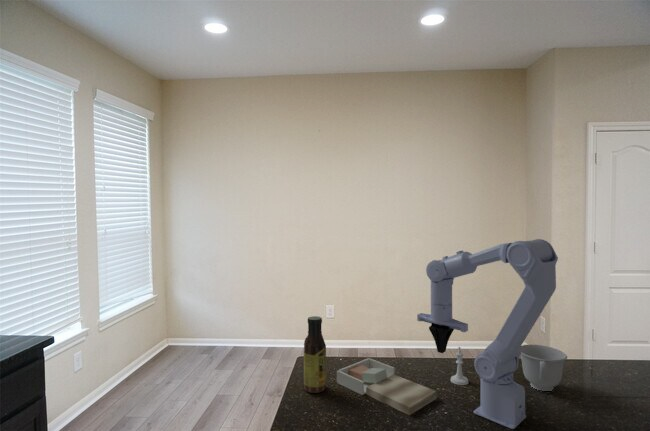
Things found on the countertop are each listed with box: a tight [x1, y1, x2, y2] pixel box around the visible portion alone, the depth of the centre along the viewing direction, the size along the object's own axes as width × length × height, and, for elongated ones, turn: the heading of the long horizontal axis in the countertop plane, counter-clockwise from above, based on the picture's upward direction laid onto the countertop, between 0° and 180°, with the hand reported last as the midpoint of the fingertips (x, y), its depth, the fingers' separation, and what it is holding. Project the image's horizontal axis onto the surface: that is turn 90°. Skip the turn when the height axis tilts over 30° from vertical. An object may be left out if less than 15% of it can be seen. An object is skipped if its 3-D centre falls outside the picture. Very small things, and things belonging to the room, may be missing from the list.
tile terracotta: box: [349, 365, 370, 381], centre depth 110 cm, size 5×5×2 cm
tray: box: [336, 357, 395, 396], centre depth 109 cm, size 10×14×4 cm
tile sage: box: [362, 368, 387, 383], centre depth 107 cm, size 5×5×2 cm
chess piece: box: [450, 346, 469, 386], centre depth 109 cm, size 5×5×10 cm
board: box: [366, 373, 437, 416], centre depth 100 cm, size 14×12×2 cm
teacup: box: [519, 344, 568, 392], centre depth 103 cm, size 12×15×10 cm
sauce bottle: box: [303, 315, 327, 394], centre depth 104 cm, size 7×6×20 cm
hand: (441, 351), depth 104 cm, fingers closed
